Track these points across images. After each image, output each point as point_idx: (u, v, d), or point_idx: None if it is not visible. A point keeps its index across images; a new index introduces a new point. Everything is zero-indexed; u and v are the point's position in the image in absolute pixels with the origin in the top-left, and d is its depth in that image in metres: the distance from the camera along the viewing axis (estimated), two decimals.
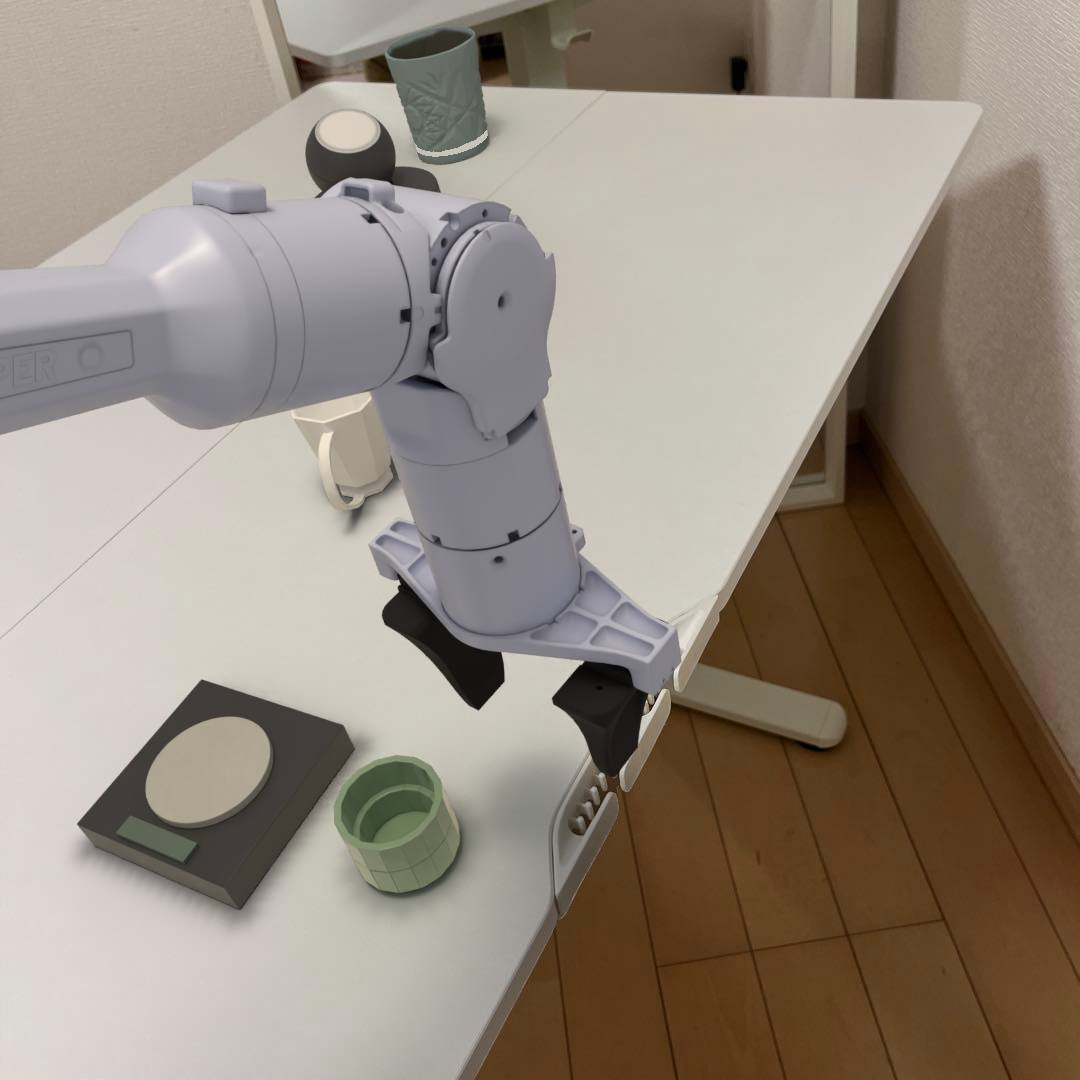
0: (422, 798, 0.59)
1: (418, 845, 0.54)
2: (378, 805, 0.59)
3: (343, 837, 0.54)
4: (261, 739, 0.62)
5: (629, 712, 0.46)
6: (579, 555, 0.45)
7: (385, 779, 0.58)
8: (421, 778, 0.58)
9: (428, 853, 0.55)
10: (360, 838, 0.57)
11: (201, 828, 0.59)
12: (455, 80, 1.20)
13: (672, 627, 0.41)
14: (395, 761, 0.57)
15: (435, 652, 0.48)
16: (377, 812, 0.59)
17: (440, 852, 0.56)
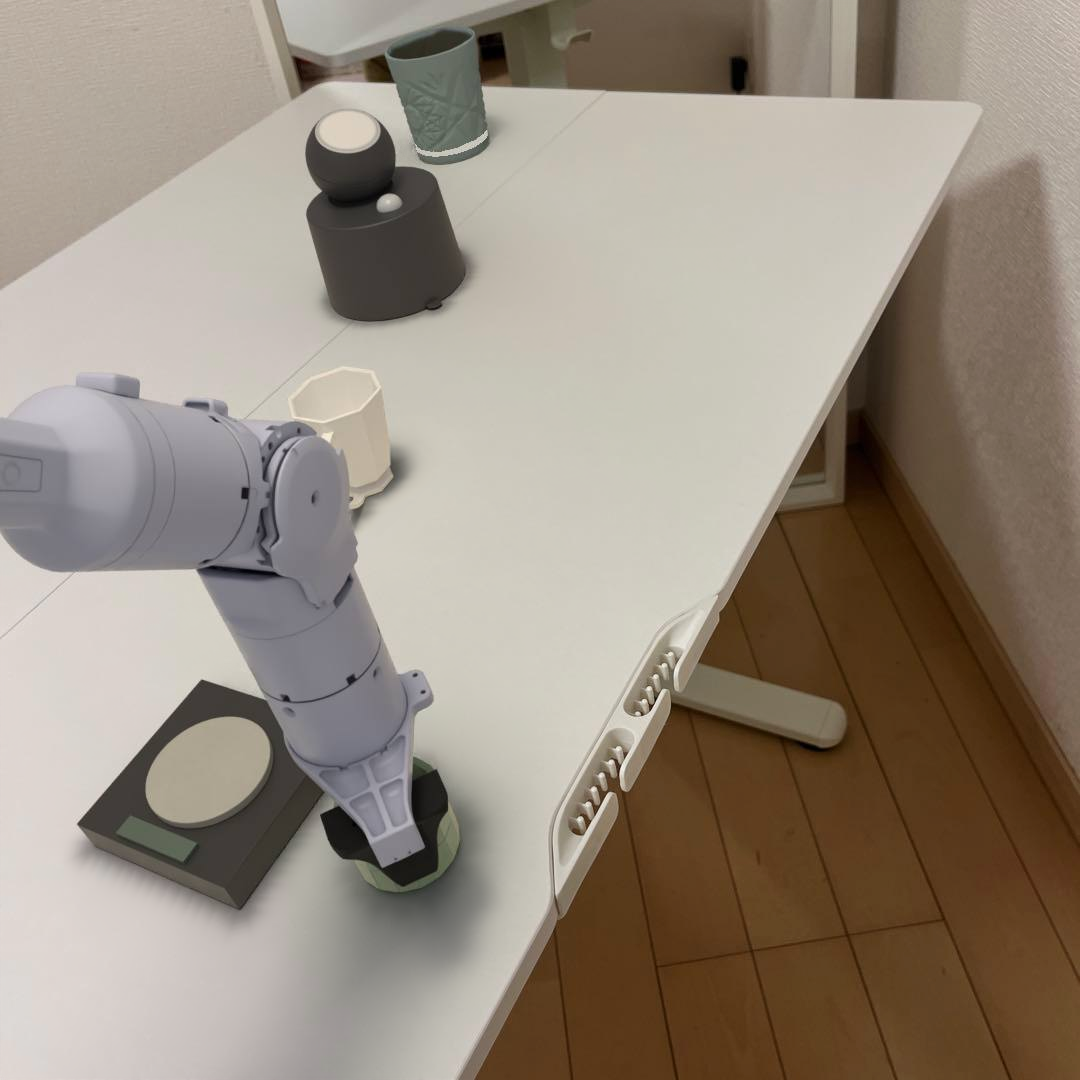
0: None
1: None
2: None
3: None
4: (261, 739, 0.62)
5: None
6: (408, 716, 0.50)
7: None
8: None
9: None
10: None
11: (201, 828, 0.59)
12: (455, 80, 1.20)
13: (410, 821, 0.46)
14: None
15: None
16: None
17: (440, 852, 0.56)
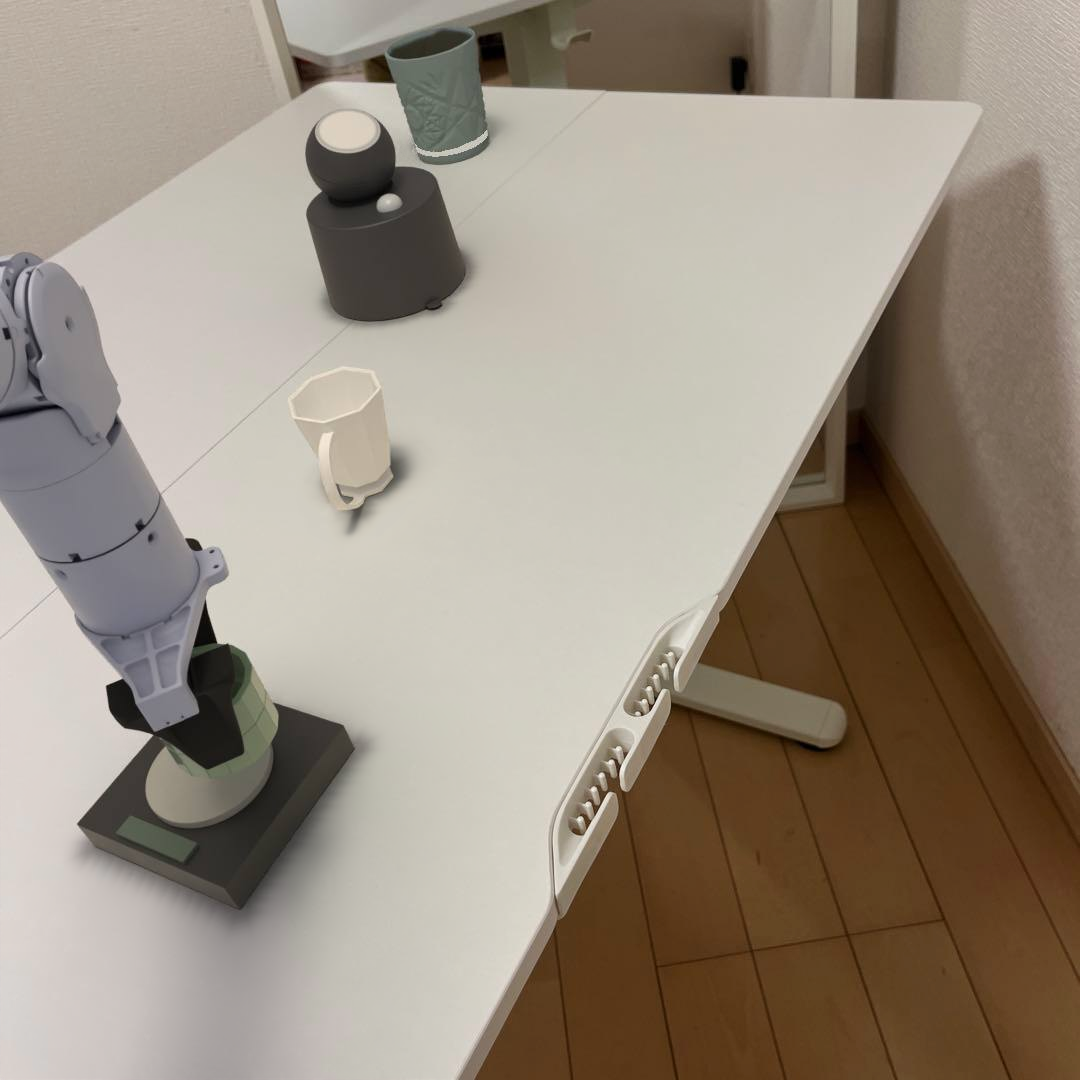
0: None
1: None
2: None
3: None
4: None
5: (217, 723, 0.52)
6: (197, 589, 0.50)
7: None
8: (238, 666, 0.57)
9: None
10: None
11: (201, 828, 0.59)
12: (455, 80, 1.20)
13: (179, 683, 0.46)
14: (211, 649, 0.57)
15: None
16: None
17: (250, 737, 0.55)
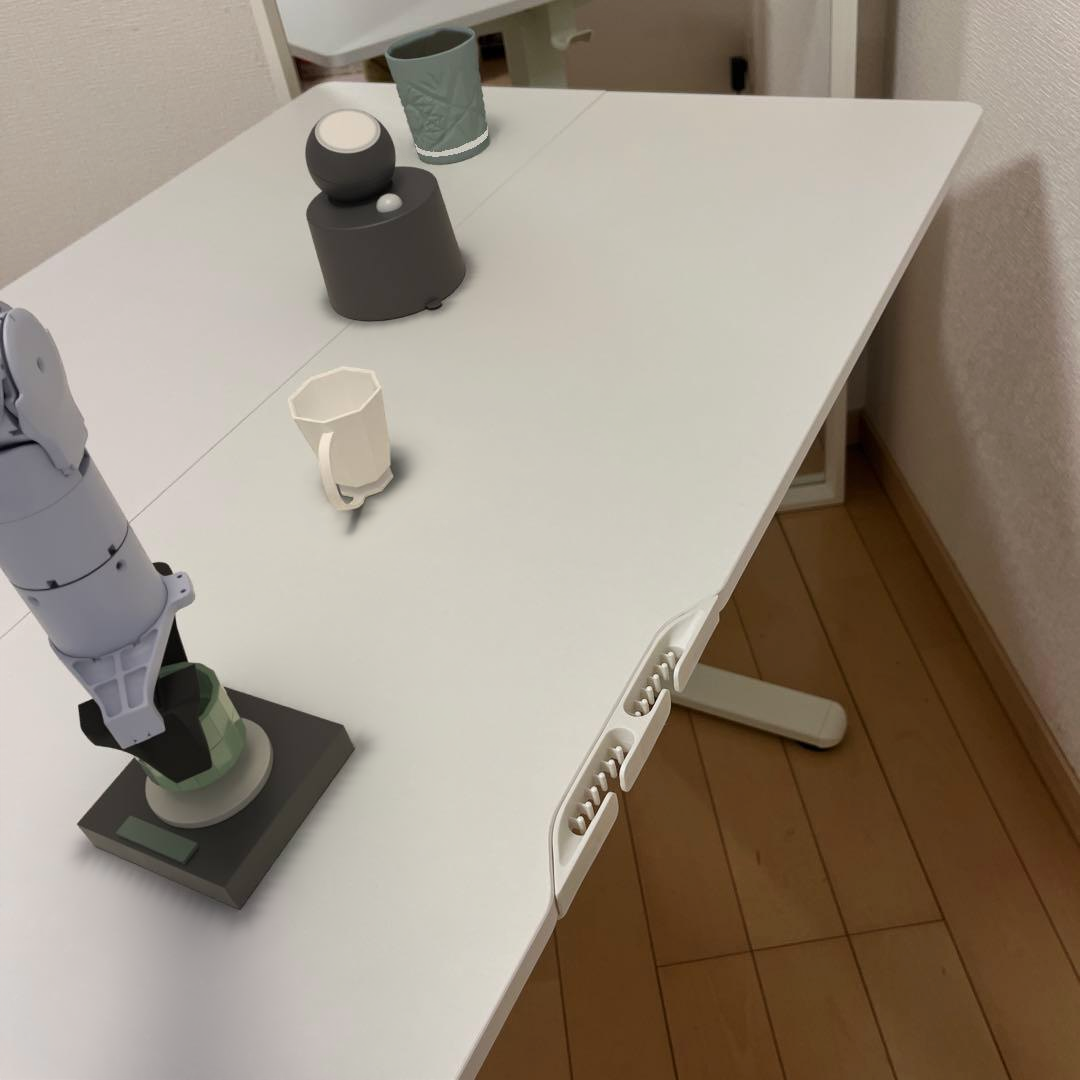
0: None
1: None
2: None
3: None
4: (261, 739, 0.62)
5: (185, 739, 0.55)
6: (164, 612, 0.53)
7: None
8: (207, 684, 0.60)
9: None
10: None
11: (201, 828, 0.59)
12: (455, 80, 1.20)
13: (145, 703, 0.48)
14: (181, 667, 0.60)
15: None
16: None
17: (218, 752, 0.58)
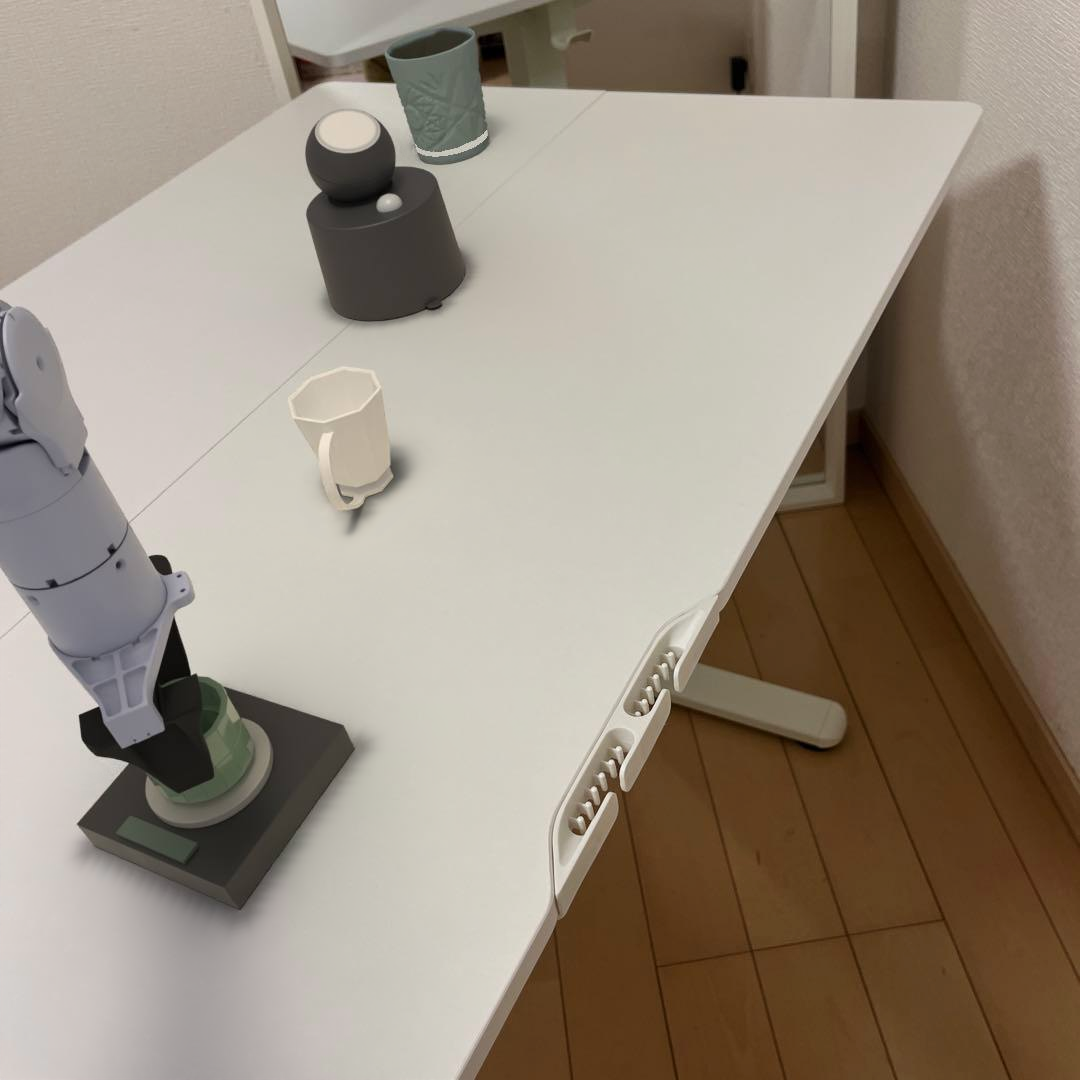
0: None
1: None
2: None
3: None
4: (261, 739, 0.62)
5: (187, 749, 0.55)
6: (164, 612, 0.53)
7: None
8: (215, 697, 0.61)
9: None
10: None
11: (201, 828, 0.59)
12: (455, 80, 1.20)
13: (144, 702, 0.48)
14: None
15: None
16: None
17: (226, 765, 0.59)
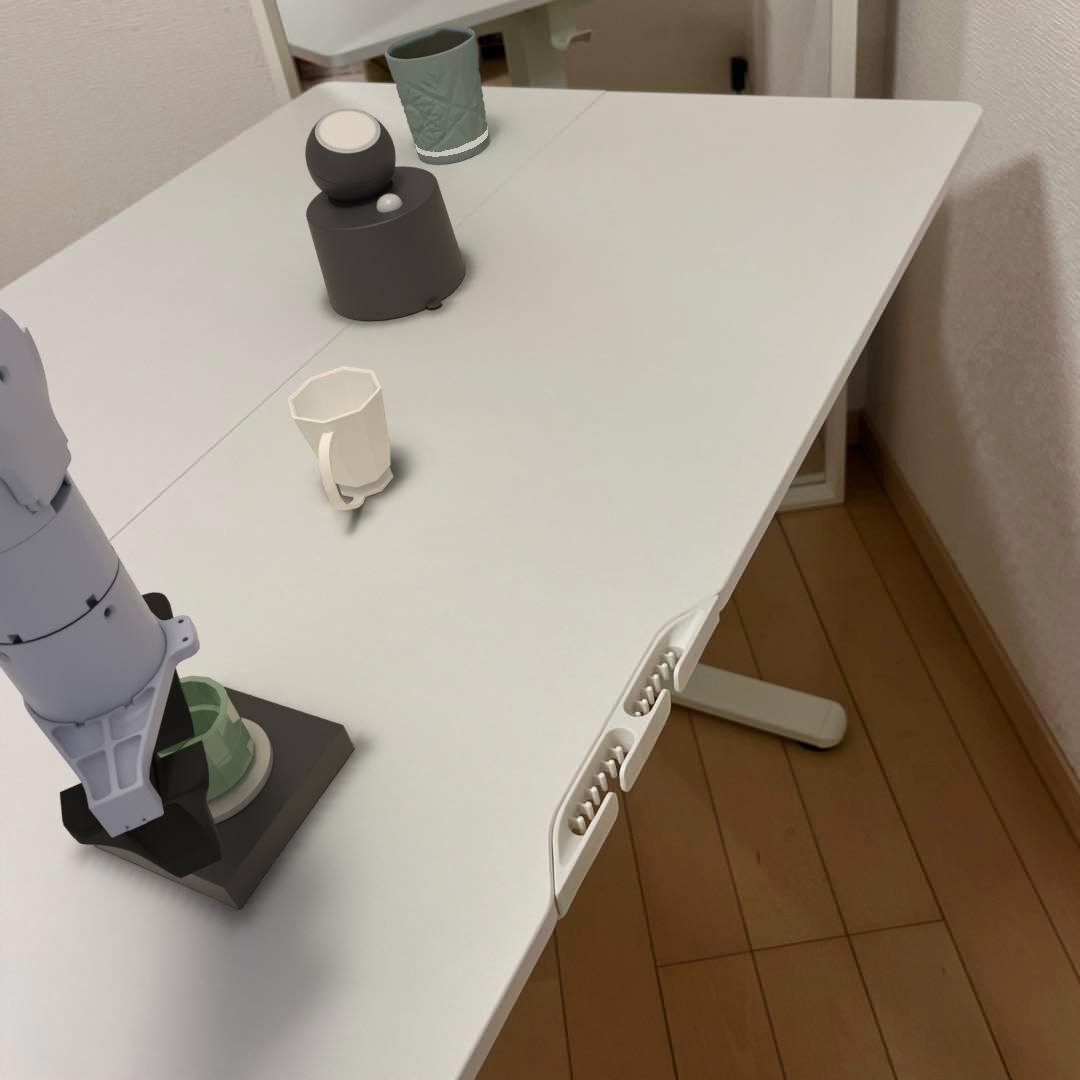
0: None
1: None
2: None
3: None
4: (261, 739, 0.62)
5: (190, 828, 0.46)
6: (163, 666, 0.44)
7: None
8: (215, 697, 0.61)
9: (212, 764, 0.58)
10: None
11: None
12: (455, 80, 1.20)
13: (139, 782, 0.40)
14: (189, 681, 0.61)
15: None
16: None
17: (226, 765, 0.59)
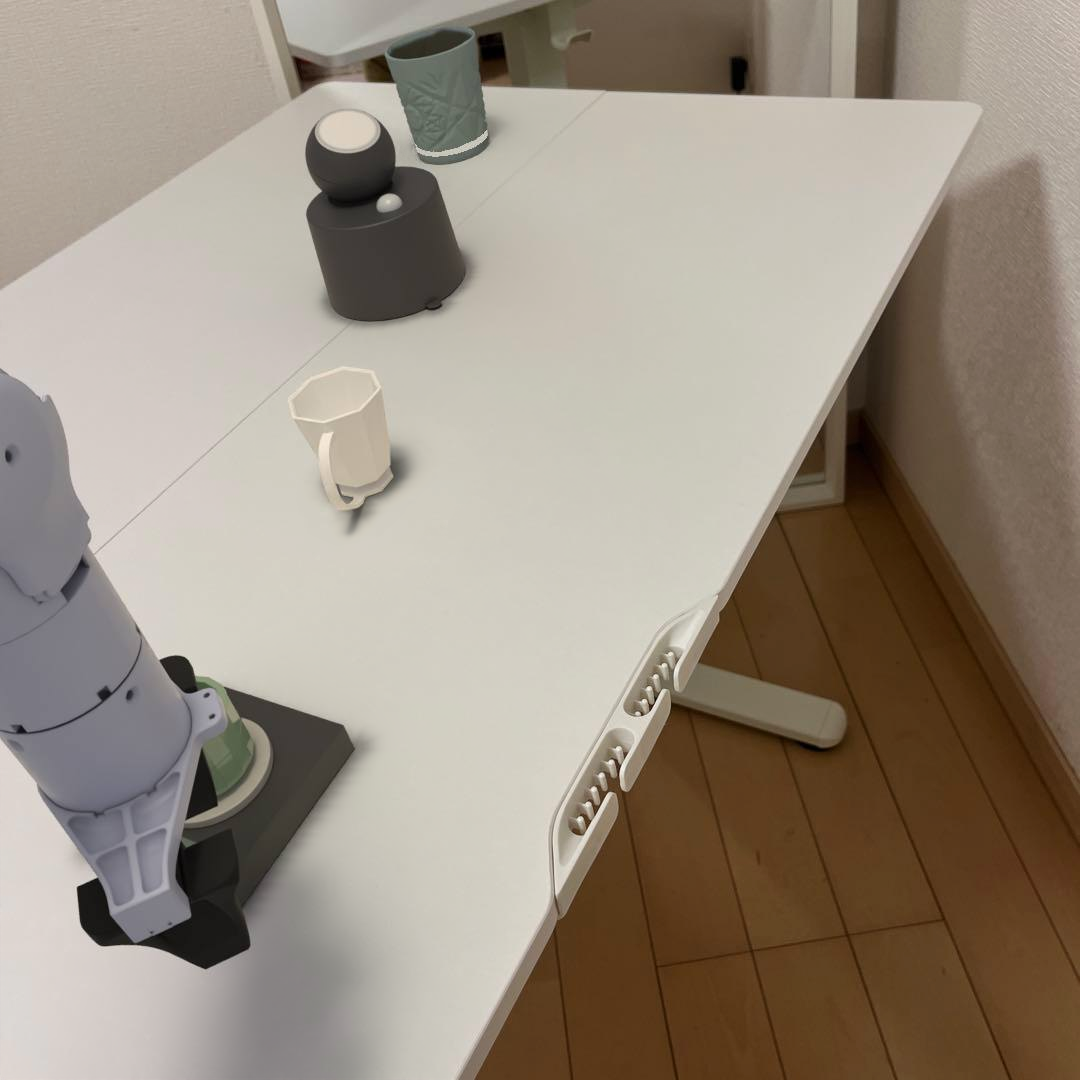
0: None
1: None
2: None
3: None
4: (261, 739, 0.62)
5: (217, 919, 0.42)
6: (188, 748, 0.40)
7: None
8: None
9: (212, 764, 0.58)
10: None
11: (201, 828, 0.59)
12: (455, 80, 1.20)
13: (165, 886, 0.36)
14: None
15: None
16: None
17: (226, 765, 0.59)
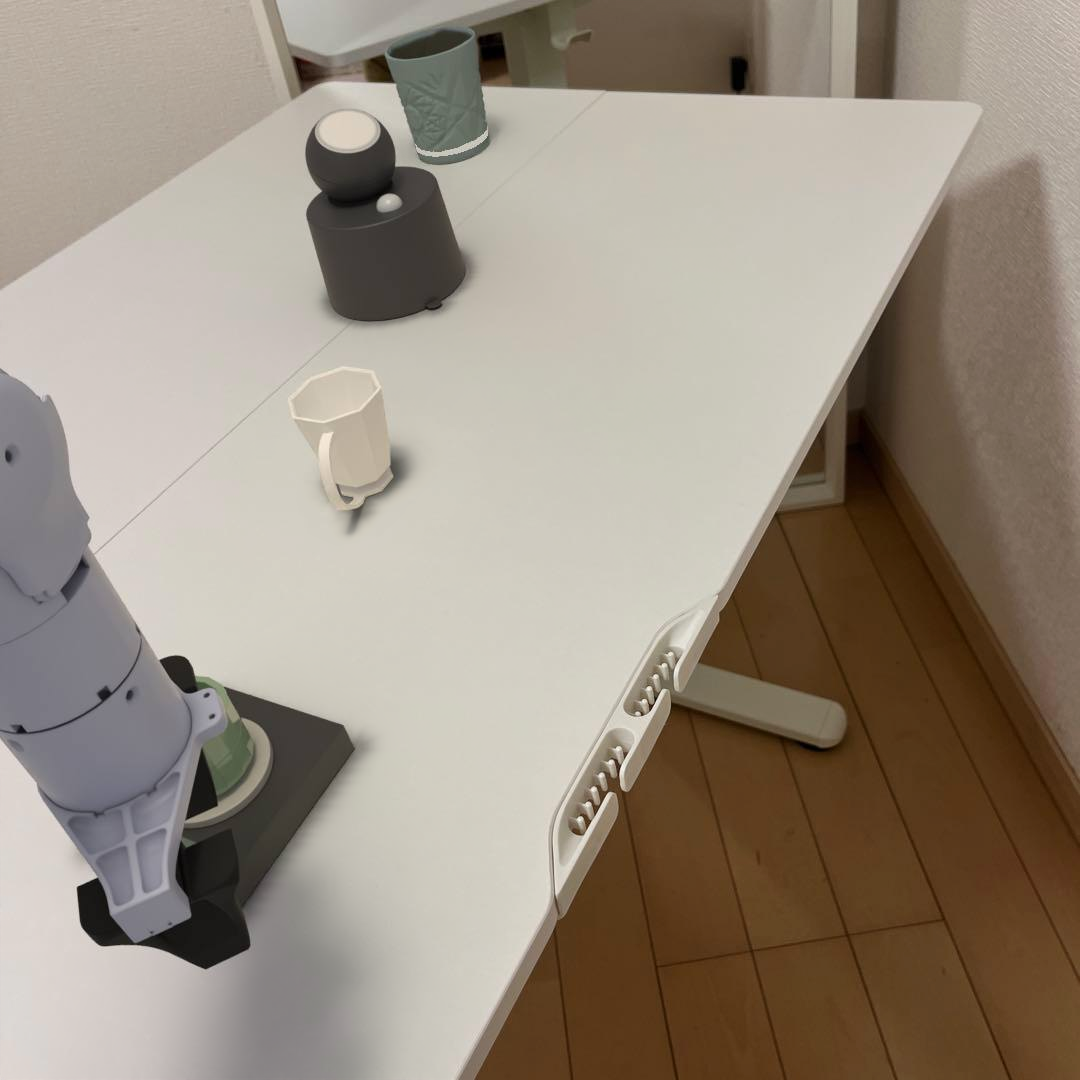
0: None
1: None
2: None
3: None
4: (261, 739, 0.62)
5: (217, 919, 0.42)
6: (188, 748, 0.40)
7: None
8: None
9: (212, 764, 0.58)
10: None
11: (201, 828, 0.59)
12: (455, 80, 1.20)
13: (165, 886, 0.36)
14: None
15: None
16: None
17: (226, 765, 0.59)
